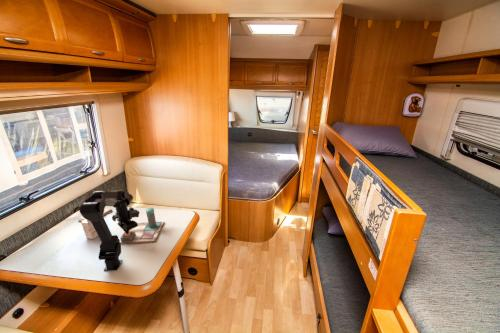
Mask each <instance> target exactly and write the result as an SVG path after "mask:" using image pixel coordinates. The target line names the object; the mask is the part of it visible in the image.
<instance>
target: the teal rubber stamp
mask: <svg viewBox="0 0 500 333" xmlns="http://www.w3.org/2000/svg"><path fill="white" fill-rule="evenodd" d="M145 213H146V217H147V223H149V228H155V227H156V222H157V221H156V215H155V208H154V207H149V208H146V210H145Z"/></svg>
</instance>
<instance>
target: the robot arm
mask: <svg viewBox="0 0 500 333" xmlns="http://www.w3.org/2000/svg"><path fill="white" fill-rule="evenodd" d="M108 199H109V201H112V202H115V203H114V204H113V208H115V211H116V212H115V213H114V215H112V217H111V219H112V221H113V222H116V221H117V225H118V226H119V227H120V229H121V230H123V231H124V232H125V233H126V234H128V233H129V230H131V229H133V228H135V227H137V226H138V224H137V223H138V222H137V221H136V220H133V218H139V217H140V210H137V209H135V208H134V207H129V208H128V206H129V205H130V204H131V203H132V201H133V200H134V196H133V195H132V194H131V193H130V192H129V191H126V190H125V189H118V190H116V189H114V190H110V191H108V190H106V191H105V190H95V191H93V192H92V193H91V195H90V196H88V197H87V198H85V199H84V200H83V201H82V203H81V204H80V207H79V210H78V211H79V213H80V215H81V216H83V217H84V218H85V219H87V220H89V221H91V223H92V225H93V227H94V229H95V230H96V232H97V234H98V238H99V240H100V242H101V243H100V245H99V252H98V258H97V259H98V260H99V261H101V260H102V261H103V260H104V264H105V267H104V268H103V271H104V272H105V271H117V270H118V269H119V268H120V266H121V264H122V262H123V259H120V258H119V257H120V255H121V253H122V244H121V239H119V236H118V235H116V234H115V235H113V234H112V232H111V230H110V228H109V226H108V224H107V221H106V220H105V218H104V217H105V216H103V213H104V208H105V209H106V207H107V202H106V200H108ZM96 200H98V201H96ZM99 200H101V201H99ZM124 232H123V233H124Z"/></svg>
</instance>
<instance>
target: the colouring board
mask: <svg viewBox="0 0 500 333" xmlns="http://www.w3.org/2000/svg"><path fill="white" fill-rule="evenodd" d="M137 224H138V226H137V227H135V228H133V229H131V230H129V232H130V233H131V236H130V237H125V232H123V234H122V235H121V237H120V239H119V240H120V243H121V245H131V244H145V243H147V244H148V243H156V242H157V239H158V237H159V236H160V233H161V232H162V229H163V227H164V225H165V221H156V227H155V228H149V223H148V222H137Z"/></svg>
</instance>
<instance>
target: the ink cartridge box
mask: <svg viewBox="0 0 500 333" xmlns="http://www.w3.org/2000/svg"><path fill="white" fill-rule="evenodd" d="M80 223H81V226H82V229H83V232H84V236H85V238H86V239H91V240H94V239H95V238H96V237H97V236H98V234H97V232H96V230H95V229H94V227H93V225H92V223H91V221H89V220H87V219H85V220H84V221H82V222H80ZM98 237H99V236H98Z"/></svg>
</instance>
